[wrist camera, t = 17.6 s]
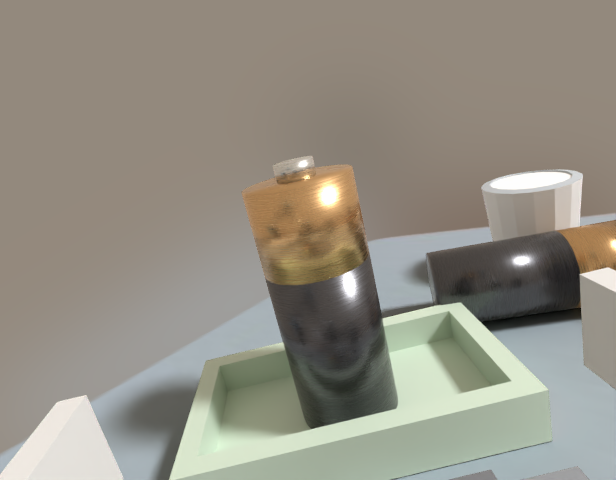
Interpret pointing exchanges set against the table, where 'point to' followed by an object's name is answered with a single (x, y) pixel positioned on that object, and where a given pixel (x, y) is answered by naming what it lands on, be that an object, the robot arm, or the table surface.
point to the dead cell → (521, 271)
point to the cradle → (572, 476)
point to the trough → (374, 428)
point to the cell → (323, 290)
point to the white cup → (532, 202)
